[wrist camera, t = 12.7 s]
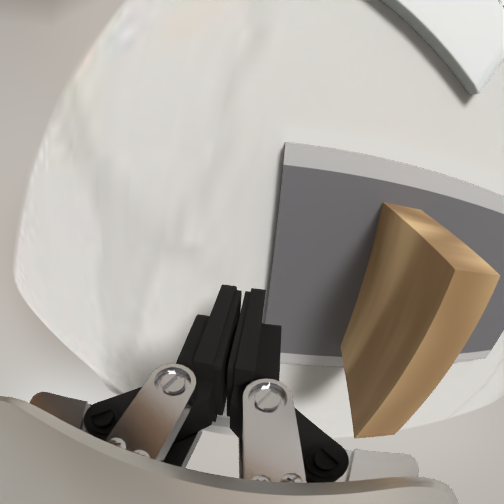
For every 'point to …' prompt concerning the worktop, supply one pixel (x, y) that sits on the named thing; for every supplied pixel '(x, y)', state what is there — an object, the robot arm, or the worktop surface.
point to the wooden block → (410, 317)
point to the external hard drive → (459, 34)
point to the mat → (363, 243)
